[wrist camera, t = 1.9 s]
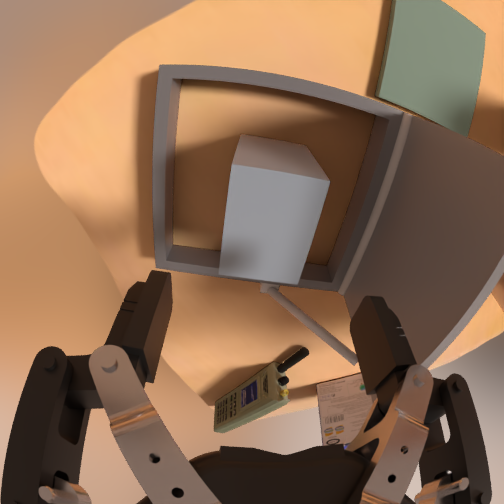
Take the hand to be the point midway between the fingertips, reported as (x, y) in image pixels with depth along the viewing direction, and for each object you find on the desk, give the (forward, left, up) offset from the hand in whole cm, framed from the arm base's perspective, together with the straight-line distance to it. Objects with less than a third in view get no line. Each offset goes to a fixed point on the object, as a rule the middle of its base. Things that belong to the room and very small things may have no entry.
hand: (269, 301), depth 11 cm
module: (0, 0, -13) cm, 13 cm away
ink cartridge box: (-20, +32, -13) cm, 40 cm away
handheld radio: (-5, +32, -14) cm, 35 cm away
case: (0, 0, -13) cm, 13 cm away
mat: (-12, -15, -13) cm, 23 cm away
